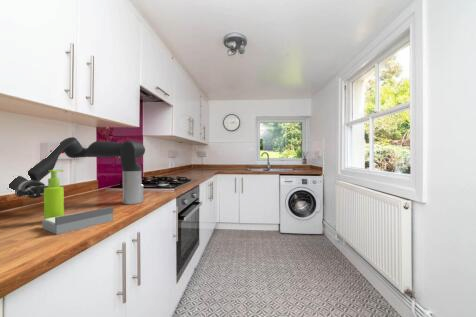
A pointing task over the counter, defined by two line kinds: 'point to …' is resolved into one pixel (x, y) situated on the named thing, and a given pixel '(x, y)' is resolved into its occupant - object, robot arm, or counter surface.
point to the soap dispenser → (53, 197)
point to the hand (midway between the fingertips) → (46, 192)
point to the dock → (77, 220)
